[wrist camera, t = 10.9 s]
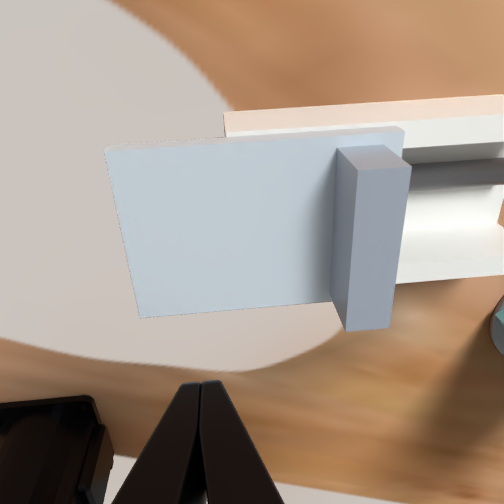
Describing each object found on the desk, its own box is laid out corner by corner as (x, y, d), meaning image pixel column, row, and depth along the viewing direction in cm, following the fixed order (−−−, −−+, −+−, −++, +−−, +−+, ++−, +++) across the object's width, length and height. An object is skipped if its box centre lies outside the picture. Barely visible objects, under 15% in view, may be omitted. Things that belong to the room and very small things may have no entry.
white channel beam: (234, 256, 22) (237, 297, 18) (223, 111, 18) (225, 132, 15) (486, 236, 22) (530, 272, 19) (522, 92, 19) (583, 108, 16)
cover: (142, 306, 18) (130, 360, 15) (108, 144, 15) (85, 176, 12) (377, 286, 19) (406, 335, 16) (395, 125, 15) (437, 151, 12)
